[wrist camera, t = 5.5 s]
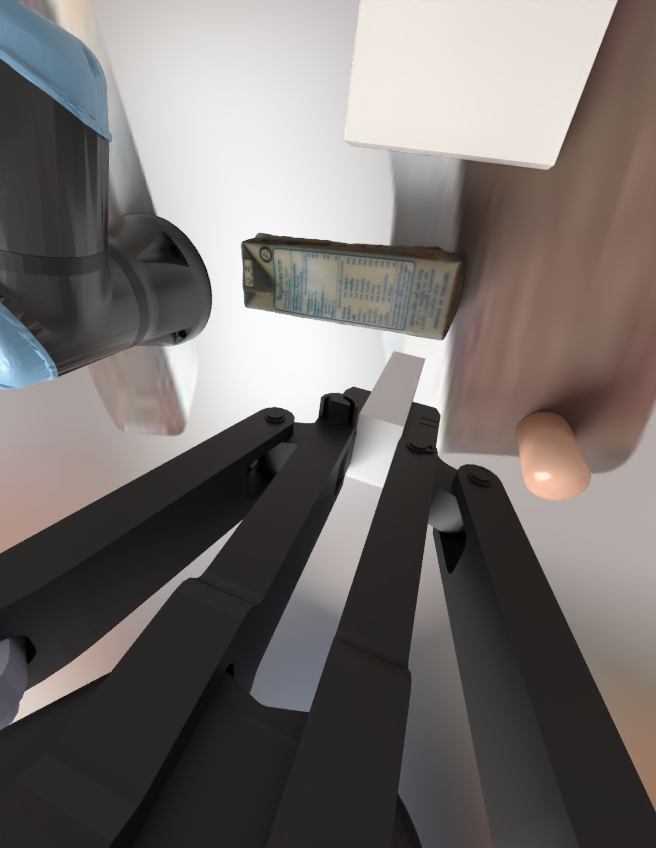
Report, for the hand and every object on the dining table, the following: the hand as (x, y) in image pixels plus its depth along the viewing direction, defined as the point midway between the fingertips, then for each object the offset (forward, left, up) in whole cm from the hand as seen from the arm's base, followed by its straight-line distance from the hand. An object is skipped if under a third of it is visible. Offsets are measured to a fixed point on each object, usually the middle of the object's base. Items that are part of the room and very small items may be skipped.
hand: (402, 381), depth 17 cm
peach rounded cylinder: (+14, -11, -22) cm, 28 cm away
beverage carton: (+1, 0, -23) cm, 23 cm away
